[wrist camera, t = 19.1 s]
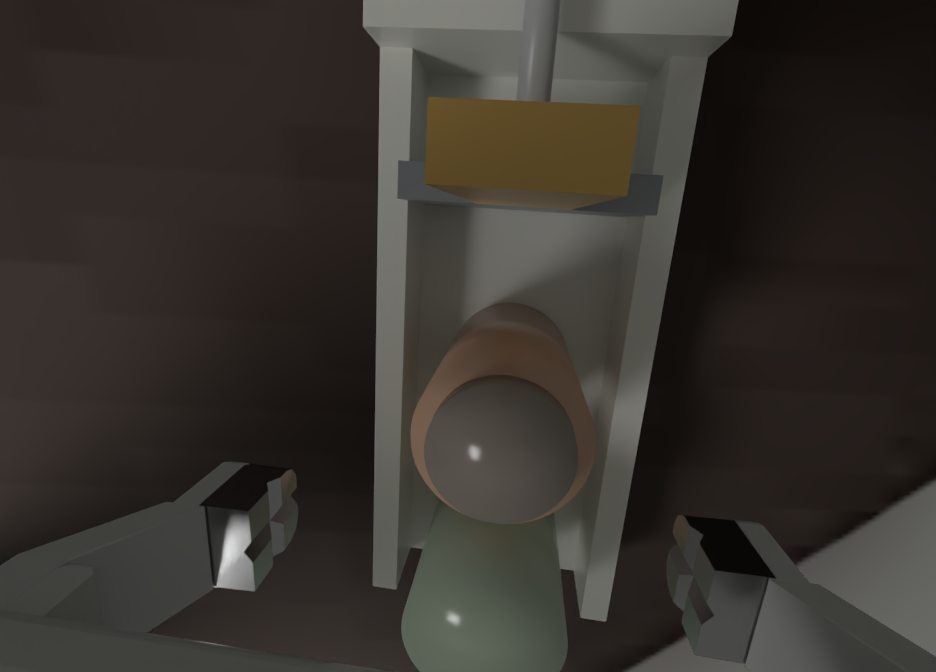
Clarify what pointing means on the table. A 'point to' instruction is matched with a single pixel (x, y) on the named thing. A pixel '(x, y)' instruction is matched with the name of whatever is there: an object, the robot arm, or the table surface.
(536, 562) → the green jar
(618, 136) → the pusher
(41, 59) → the table surface
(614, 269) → the tray
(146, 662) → the robot arm
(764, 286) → the table surface
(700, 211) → the table surface
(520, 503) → the terracotta jar
